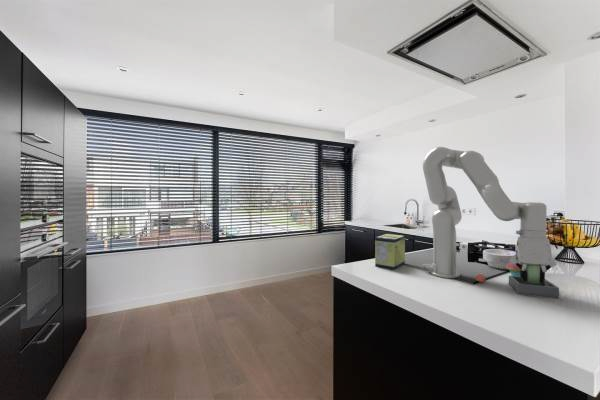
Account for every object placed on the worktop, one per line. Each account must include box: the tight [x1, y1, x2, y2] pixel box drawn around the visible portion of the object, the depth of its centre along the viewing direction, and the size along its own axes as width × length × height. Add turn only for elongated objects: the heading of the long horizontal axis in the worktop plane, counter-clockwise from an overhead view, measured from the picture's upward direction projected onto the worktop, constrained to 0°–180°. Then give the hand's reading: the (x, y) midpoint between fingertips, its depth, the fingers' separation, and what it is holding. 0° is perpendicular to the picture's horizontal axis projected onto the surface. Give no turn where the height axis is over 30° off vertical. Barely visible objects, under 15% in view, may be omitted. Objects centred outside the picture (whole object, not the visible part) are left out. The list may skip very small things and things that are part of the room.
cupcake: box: [506, 262, 520, 276], centre depth 120 cm, size 9×8×12 cm
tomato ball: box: [475, 273, 486, 283], centre depth 114 cm, size 4×4×4 cm
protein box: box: [374, 233, 406, 270], centre depth 143 cm, size 10×16×16 cm
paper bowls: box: [482, 248, 519, 270], centre depth 136 cm, size 15×15×8 cm
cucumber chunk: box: [525, 264, 540, 285], centre depth 103 cm, size 4×4×7 cm
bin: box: [508, 275, 560, 300], centre depth 104 cm, size 12×11×4 cm
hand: (532, 280), depth 104 cm, fingers closed on cucumber chunk, 4 cm apart
